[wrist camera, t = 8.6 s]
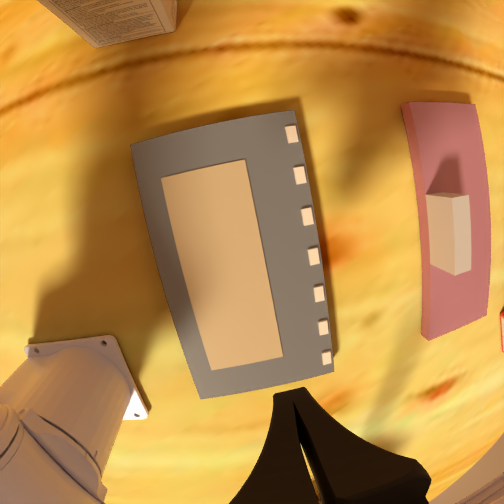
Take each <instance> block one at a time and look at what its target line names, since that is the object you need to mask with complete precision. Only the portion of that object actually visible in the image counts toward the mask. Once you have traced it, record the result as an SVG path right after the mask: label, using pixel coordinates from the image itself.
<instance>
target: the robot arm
mask: <svg viewBox="0 0 504 504" xmlns="http://www.w3.org/2000/svg"><path fill="white" fill-rule="evenodd" d="M102 341H105V342H106V343H107V344H104V343H103V342H102ZM36 348H37V349H38V350H39V351H38V350H37V349H36ZM25 352H26V354H27V357H28V358H27V359H26V360H25V361H24V363H23V364H22V365H21V366H20V367H19V368H18V369H17V370H16V371H15V372H14V373H13V374H12V375H11V376H10V377H9V378H8V379H7V380H6V381H5V382H4V383H3V385H2V386H1V387H0V504H105V503H104V499H105V496H106V493H107V488H106V487H105V486H104V485H103V484H102V482H101V478H102V475H103V472H104V469H105V466H106V464H107V461H108V458H109V455H110V453H111V450H112V447H113V445H114V442H115V439H116V436H117V434H118V431H119V429H120V426H121V423H122V421H123V420H133V419H146V418H148V415H149V412H148V410H147V408H146V406H145V404H144V402H143V400H142V398H141V395H140V393H139V391H138V389H137V387H136V385H135V383H134V380H133V378H132V376H131V374H130V371H129V369H128V367H127V364H126V362H125V360H124V357H123V355H122V352H121V350H120V347H119V345H118V342H117V340H116V338H115V337H114V336H112V335H103V336H96V337H89V338H81V339H73V340H65V341H56V342H47V343H38V344H28V345H27V346H25ZM136 413H138V414H139V415H138V414H136ZM300 443H301V444H300ZM301 445H302V448H303V450H304V453H305V455H306V458H307V460H308V463H309V466H310V468H311V471H312V473H313V476H314V478H315V481H316V484H317V487H318V490H319V494H320V498H321V501H322V504H429V502H428V501H427V499H426V497H425V496H426V493H427V491H428V489H429V486H430V484H431V478H430V476H429V474H428V473H427V471H426V470H425V469H424V468H423V467H422V465H421V464H420V463H419V462H418V461H417V460H416V459H412V458H408V457H404V456H400V455H397V454H394V453H392V452H389V451H386V450H384V449H382V448H379V447H377V446H375V445H373V444H371V443H369V442H367V441H365V440H363V439H362V438H360V437H358V436H357V435H355V434H354V433H352V432H351V431H349V430H348V429H346V428H345V427H344V426H342V425H341V424H340V423H339V422H337V421H336V420H335V419H334V418H333V417H332V416H330V415H329V414H328V413H327V412H326V411H325V410H324V409H323V408H322V407H321V406H320V405H319V404H318V403H317V402H316V400H315V399H314V398H313V397H312V396H311V394H310V393H309V392H308V390H307V389H306V388H305V387H301V388H297V389H293V390H289V391H284V392H280V393H275V394H274V395H273V412H272V418H271V423H270V428H269V431H268V435H267V438H266V441H265V444H264V447H263V449H262V452H261V454H260V456H259V459H258V461H257V463H256V465H255V467H254V469H253V470H252V472H251V474H250V476H249V477H248V479H247V480H246V482H245V483H244V485H243V486H242V488H241V489H240V491H239V492H238V493H237V495H236V496H235V497H234V498H233V499H232V500H231V502H230V503H229V504H319V501H318V498H317V496H316V493H315V490H314V487H313V484H312V481H311V478H310V475H309V472H308V469H307V465H306V462H305V459H304V456H303V452H302V449H301ZM456 504H504V472H503V473H502V474H500V475H499V476H498V477H496V478H495V479H493V480H492V481H491V482H489V483H488V484H486V485H485V486H483V487H482V488H480V489H479V490H477V491H475V492H474V493H472V494H471V495H469V496H468V497H466V498H464V499H462V500H461V501H459V502H457V503H456Z"/></svg>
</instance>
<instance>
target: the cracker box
mask: <svg viewBox="0 0 504 504" xmlns="http://www.w3.org/2000/svg"><path fill="white" fill-rule="evenodd" d="M500 321H501V337H502V352H504V311H503V312H502V313H501V314H500Z"/></svg>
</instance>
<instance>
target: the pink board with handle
mask: <svg viewBox="0 0 504 504" xmlns="http://www.w3.org/2000/svg"><path fill="white" fill-rule="evenodd" d="M401 109H402V113H403V118H404V122H405V127H406V132H407V137H408V142H409V148H410V154H411V160H412V166H413V172H414V179H415V187H416V195H417V204H418V214H419V225H420V238H421V257H422V328H421V335H422V336H423V337H425V338H426V339H427V340H428V341H429V340H432V339H434V338H437V337H439V336H442V335H444V334H446V333H449V332H451V331H453V330H456V329H458V328H460V327H462V326H465V325H467V324H469V323H471V322H473V321H476V320H478V319H480V318H482V317H484V316H486V315H487V307H488V296H489V284H490V264H491V220H490V200H489V188H488V177H487V169H486V161H485V154H484V147H483V141H482V135H481V130H480V125H479V120H478V115H477V110H476V106H475V104H466V103H446V102H407V103H405V104H402V105H401Z"/></svg>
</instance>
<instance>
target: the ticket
mask: <svg viewBox="0 0 504 504" xmlns="http://www.w3.org/2000/svg"><path fill="white" fill-rule="evenodd" d="M130 146H131V152H132V157H133V162H134V168H135V173H136V178H137V183H138V188H139V192H140V197H141V202H142V206H143V210H144V215H145V219H146V223H147V228H148V232H149V236H150V240H151V244H152V248H153V252H154V255H155V259H156V263H157V267H158V270H159V274H160V278H161V281H162V285H163V288H164V292H165V295H166V298H167V302H168V305H169V308H170V312H171V315H172V318H173V321H174V325H175V328H176V331H177V334H178V337H179V340H180V343H181V346H182V349H183V352H184V355H185V358H186V361H187V364H188V366H189V369H190V372H191V375H192V378H193V380H194V383H195V386H196V388H197V391H198V394H199V396H200V399H206V398H213V397H220V396H226V395H232V394H238V393H243V392H249V391H254V390H259V389H264V388H269V387H274V386H278V385H283V384H287V383H292V382H296V381H300V380H304V379H308V378H312V377H316V376H320V375H324V374H327V373H331V372H334V362H333V351H332V341H331V331H330V322H329V313H328V304H327V296H326V288H325V280H324V273H323V265H322V258H321V251H320V245H319V238H318V232H317V225H316V219H315V213H314V207H313V201H312V196H311V190H310V184H309V179H308V174H307V168H306V163H305V158H304V153H303V148H302V143H301V138H300V133H299V129H298V124H297V119H296V115H295V110H290V111H283V112H276V113H269V114H263V115H257V116H251V117H245V118H239V119H234V120H229V121H224V122H219V123H214V124H209V125H205V126H200V127H196V128H191V129H187V130H183V131H179V132H175V133H171V134H167V135H163V136H160V137H156V138H152V139H149V140H145V141H142V142H138V143H135V144H131V145H130Z"/></svg>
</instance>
